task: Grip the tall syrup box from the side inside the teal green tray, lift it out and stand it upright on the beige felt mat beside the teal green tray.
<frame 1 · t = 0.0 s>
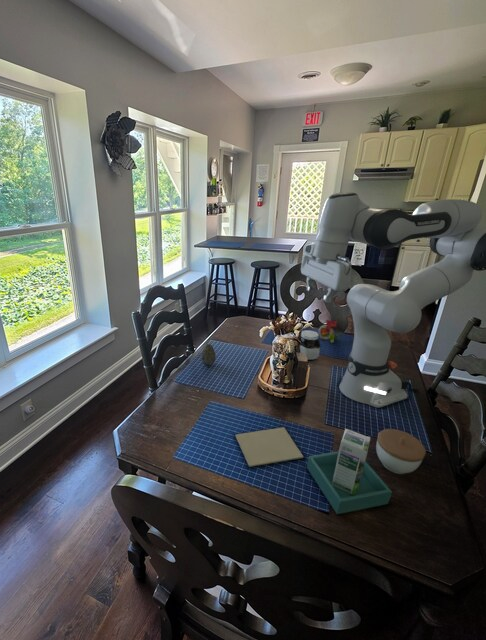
hand: (318, 296, 99), 39 cm above the table, tool pointing down, fingers open, 8 cm apart
syrup box: (345, 483, 82), resting on teal green tray
bird rattle: (327, 340, 156), on the table
spread jar: (301, 357, 142), on the table
decorative egg: (208, 365, 137), on the table
felt mat: (267, 446, 94), on the table
teal green tray: (344, 484, 82), on the table
trinket box: (394, 465, 88), on the table
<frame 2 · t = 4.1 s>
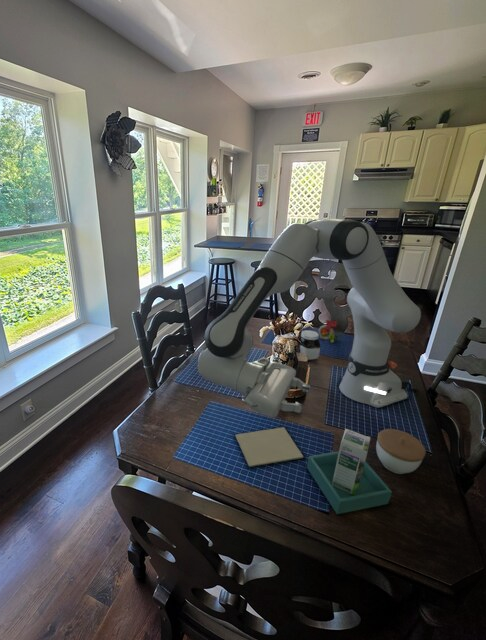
hand: (305, 398, 80), 22 cm above the table, tool horizontal, fingers open, 8 cm apart
nothing on the table moved.
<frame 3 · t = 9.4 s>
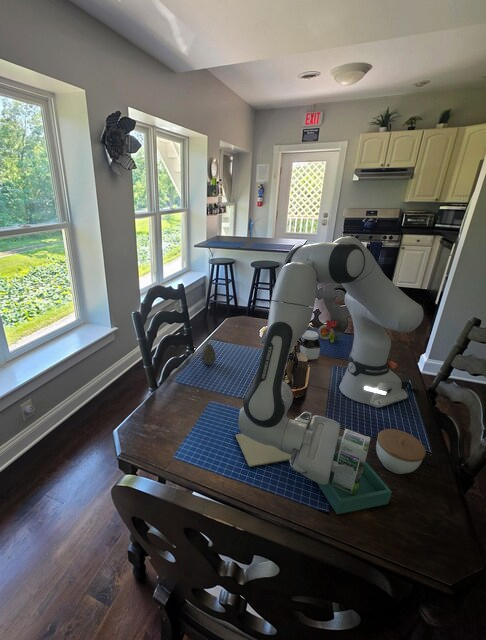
hand: (355, 459, 78), 9 cm above the table, tool horizontal, fingers closed on syrup box, 6 cm apart
syrup box: (345, 483, 82), resting on teal green tray, touching gripper
everything else where it was.
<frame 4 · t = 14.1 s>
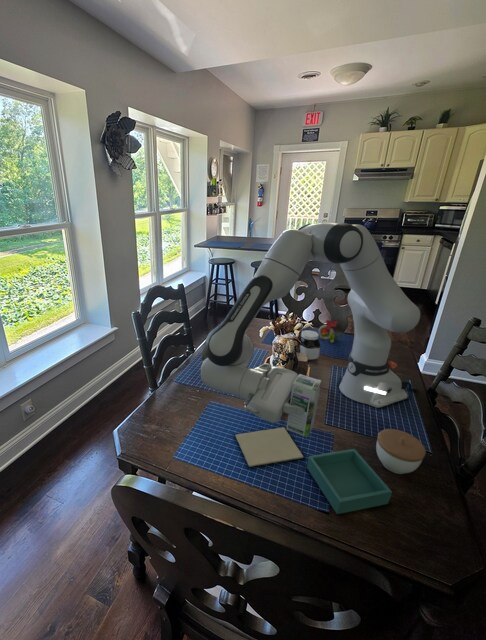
hand: (307, 402, 81), 20 cm above the table, tool horizontal, fingers closed on syrup box, 6 cm apart
syrup box: (299, 427, 85), point 11 cm above the table, touching gripper
everything else where it was.
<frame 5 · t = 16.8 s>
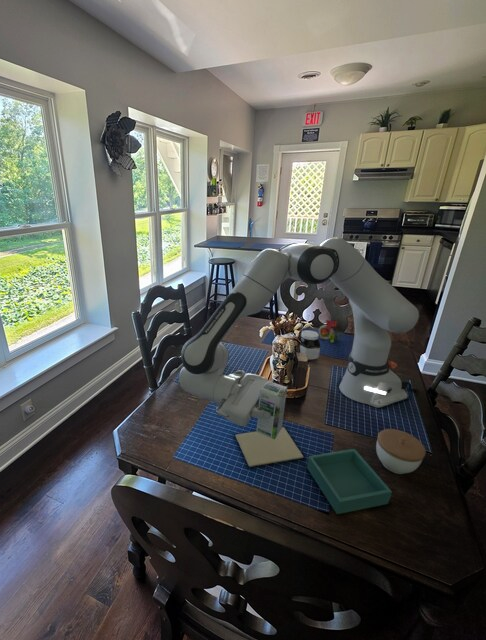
hand: (275, 407, 88), 14 cm above the table, tool horizontal, fingers closed on syrup box, 6 cm apart
syrup box: (269, 430, 92), point 6 cm above the table, touching gripper
everything else where it was.
when the fingers open (9 cm above the table, at t = 18.9 s): syrup box stays where it is, resting on felt mat.
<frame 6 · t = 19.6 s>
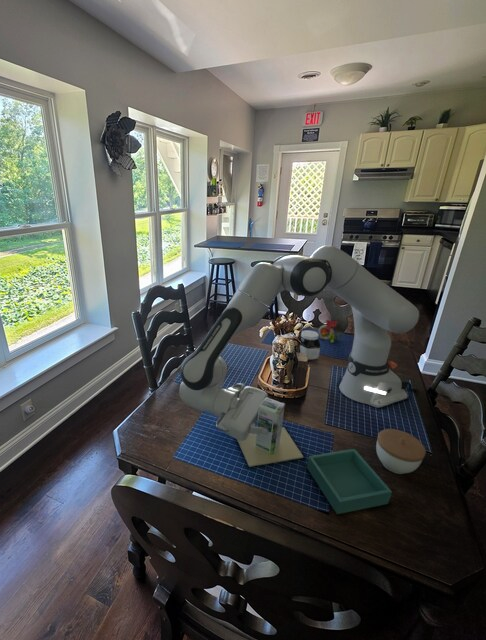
hand: (273, 421, 90), 10 cm above the table, tool horizontal, fingers open, 8 cm apart
syrup box: (267, 445, 94), resting on felt mat
everything else where it was.
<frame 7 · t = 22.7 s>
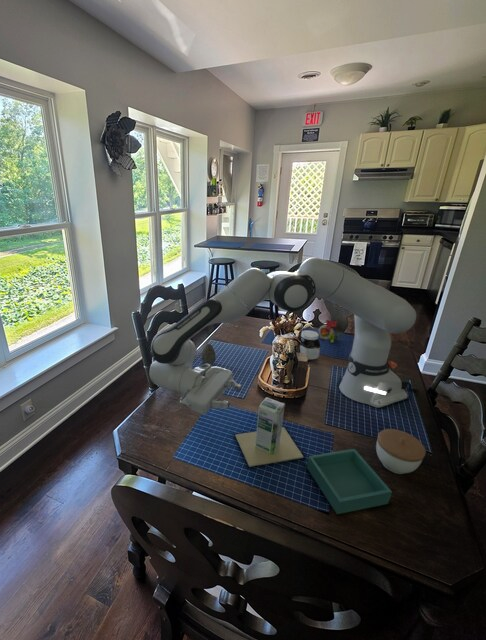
hand: (234, 396, 95), 13 cm above the table, tool horizontal, fingers open, 8 cm apart
nothing on the table moved.
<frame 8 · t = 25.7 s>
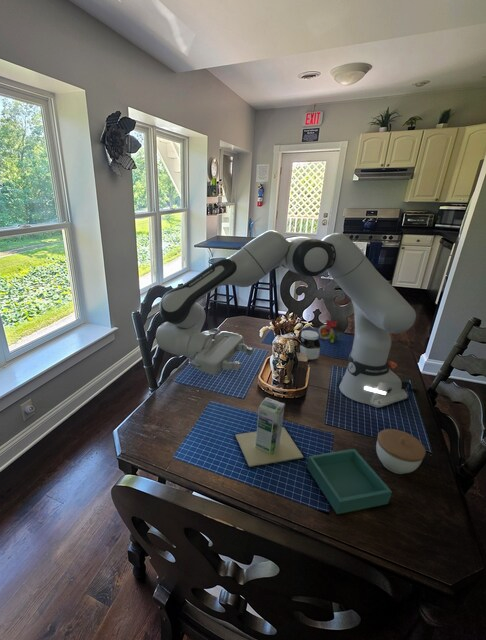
hand: (246, 358, 90), 26 cm above the table, tool horizontal, fingers open, 8 cm apart
nothing on the table moved.
at the end: syrup box inside the target area on the felt mat (0.1 cm from its centre), point 0.3 cm above the felt mat's base; syrup box tilted 0°; the gripper is holding nothing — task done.
